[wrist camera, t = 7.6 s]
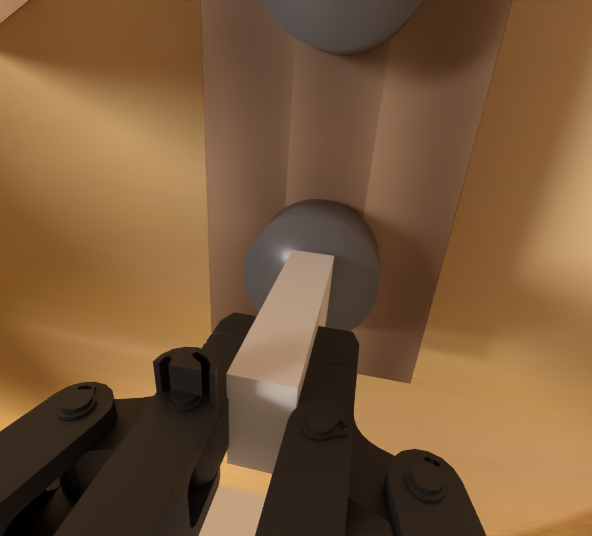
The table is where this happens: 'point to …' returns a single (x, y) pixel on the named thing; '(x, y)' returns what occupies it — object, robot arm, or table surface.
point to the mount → (346, 149)
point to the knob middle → (342, 22)
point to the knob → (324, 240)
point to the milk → (9, 7)
